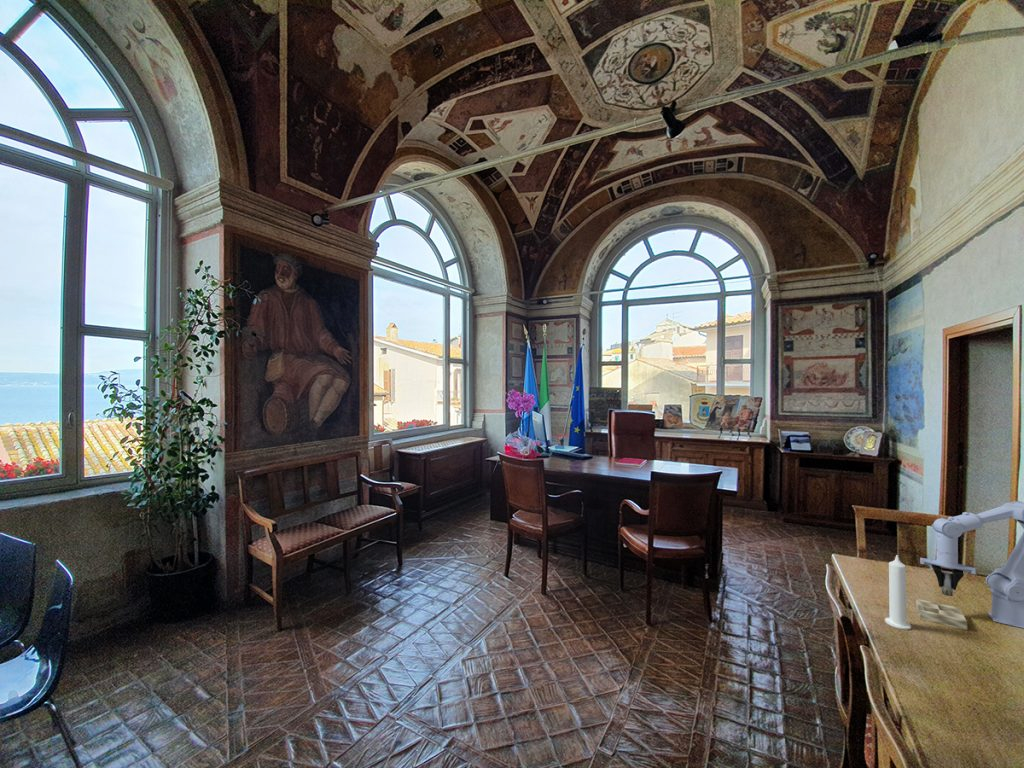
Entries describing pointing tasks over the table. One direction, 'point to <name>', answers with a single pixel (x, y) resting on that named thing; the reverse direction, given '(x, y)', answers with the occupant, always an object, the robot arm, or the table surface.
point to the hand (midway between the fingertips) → (947, 587)
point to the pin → (947, 583)
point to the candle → (897, 595)
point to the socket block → (941, 614)
